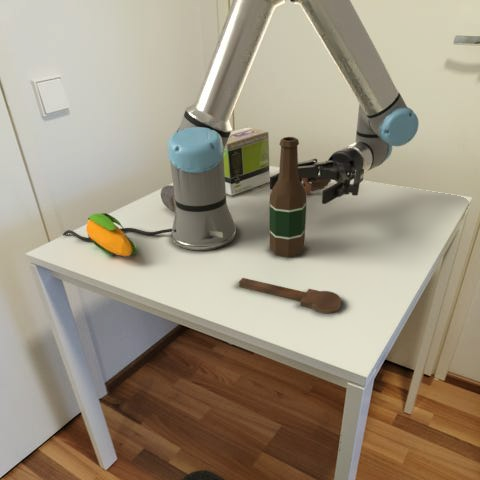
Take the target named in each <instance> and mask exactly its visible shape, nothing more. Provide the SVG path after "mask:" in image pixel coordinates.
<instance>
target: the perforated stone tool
mask: <svg viewBox="0 0 480 480" xmlns="http://www.w3.org/2000/svg"><path fill="white" fill-rule="evenodd" d="M160 198H161V201H162V203H163V205H164V206H165V207H166V208H167V209H168V210H170V211H172V212H173V213H174V214H175V212H176V201H175V194H174V186H173V185H171V184H170V185H164V186H163V187H162V188H161V190H160Z"/></svg>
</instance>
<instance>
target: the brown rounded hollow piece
mask: <svg viewBox="0 0 480 480" xmlns="http://www.w3.org/2000/svg"><path fill="white" fill-rule="evenodd" d="M318 174H320V169H318ZM299 180H300V182H301V183H302V184H303V185H304V189H305V192H306V195H309V194H311V193H313V192H317V191H320V190H324V189H325V187H327V186H328V185H329V184H330V183H331V182H332V180H331V179H325V178H324V179H315V178H314V177H312V178H301V179H299Z"/></svg>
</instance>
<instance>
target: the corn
mask: <svg viewBox="0 0 480 480" xmlns="http://www.w3.org/2000/svg"><path fill="white" fill-rule="evenodd" d="M87 220H88V221H87V223H86V228H85V231H86V233H87V236H88V237H87V238H89V239H90V240H91V242H92V243H93V245H95V247H97V248H98V249H100V250H101V251H103V252H104V253H106V254H107V255H109V256H114V255H117V256H122V257H123V256H124V257H130V255H132V254H137V252H138V249H137V246H136V245H135V244H134V242H133V241H132V240H131V238H129V237H128V235H126V234H125V233H124V231H122V230H121V228H123V229H124V228H125V227H124V226H123V225H122V224H121V222H120V221H119V220H118V219H117V218H116V217H114V216H113V215H110V214H108V213H106V212H105V213H103V212H101V213H93V214H90V215H89V216H88V217H87ZM118 226H120V227H121V228H120V227H118Z"/></svg>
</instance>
